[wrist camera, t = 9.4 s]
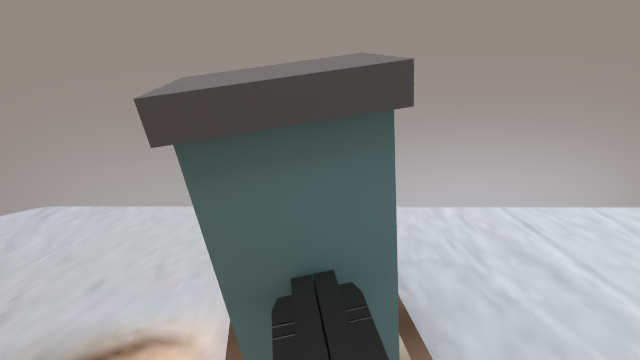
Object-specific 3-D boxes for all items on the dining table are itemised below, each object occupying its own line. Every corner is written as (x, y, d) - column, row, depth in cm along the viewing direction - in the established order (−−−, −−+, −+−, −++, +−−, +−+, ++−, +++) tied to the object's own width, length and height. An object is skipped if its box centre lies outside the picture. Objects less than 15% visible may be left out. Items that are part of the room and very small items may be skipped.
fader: (412, 389, 13) (413, 58, 8) (251, 429, 13) (133, 99, 7) (376, 304, 18) (360, 52, 12) (255, 331, 17) (182, 77, 12)
